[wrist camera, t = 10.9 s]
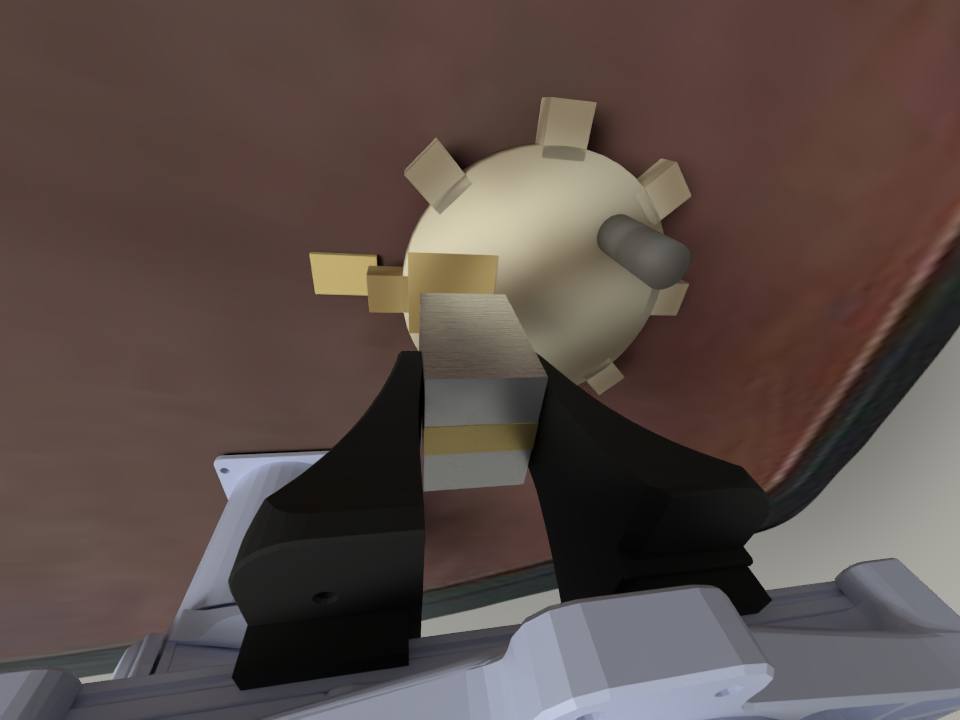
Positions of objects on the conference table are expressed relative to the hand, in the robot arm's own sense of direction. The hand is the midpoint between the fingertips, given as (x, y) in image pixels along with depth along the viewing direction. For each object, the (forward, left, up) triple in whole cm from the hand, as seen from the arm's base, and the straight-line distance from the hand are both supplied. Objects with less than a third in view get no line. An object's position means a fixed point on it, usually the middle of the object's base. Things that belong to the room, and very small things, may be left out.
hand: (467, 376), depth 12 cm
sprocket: (0, -4, -9) cm, 10 cm away
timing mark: (0, +5, -9) cm, 10 cm away
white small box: (0, 0, -2) cm, 2 cm away
